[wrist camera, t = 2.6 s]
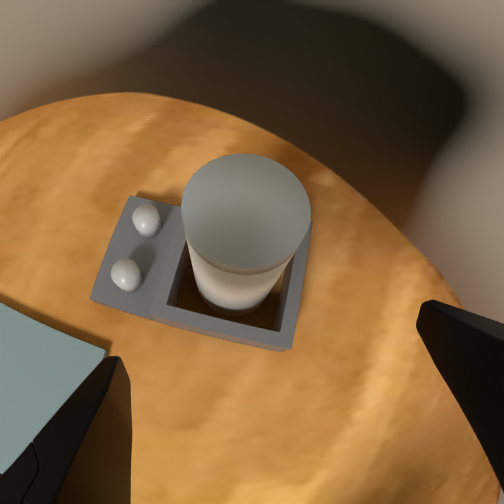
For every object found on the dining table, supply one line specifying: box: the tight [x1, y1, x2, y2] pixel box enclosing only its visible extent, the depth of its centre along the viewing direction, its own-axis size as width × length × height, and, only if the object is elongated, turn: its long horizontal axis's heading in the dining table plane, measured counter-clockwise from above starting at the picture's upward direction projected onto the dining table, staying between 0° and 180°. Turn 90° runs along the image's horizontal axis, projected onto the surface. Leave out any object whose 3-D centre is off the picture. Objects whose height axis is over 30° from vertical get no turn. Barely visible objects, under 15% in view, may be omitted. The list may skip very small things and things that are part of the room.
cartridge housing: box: [90, 196, 312, 352], centre depth 19 cm, size 13×8×3 cm, turn 78°
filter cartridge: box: [181, 154, 311, 316], centre depth 16 cm, size 5×5×10 cm
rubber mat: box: [0, 302, 108, 474], centre depth 15 cm, size 14×14×1 cm
